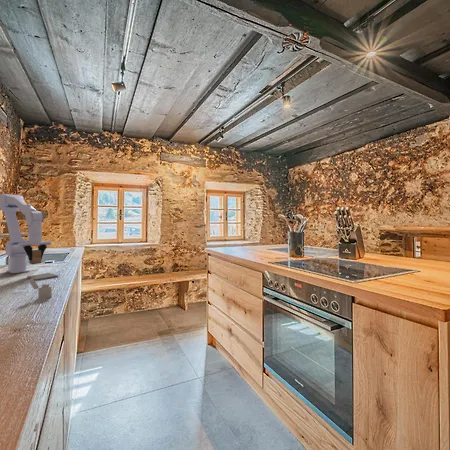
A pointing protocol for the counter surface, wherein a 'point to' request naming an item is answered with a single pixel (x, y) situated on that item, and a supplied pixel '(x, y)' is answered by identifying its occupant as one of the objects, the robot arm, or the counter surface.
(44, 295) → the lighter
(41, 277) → the slate tile
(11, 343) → the counter surface
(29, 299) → the counter surface
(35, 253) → the walnut block
